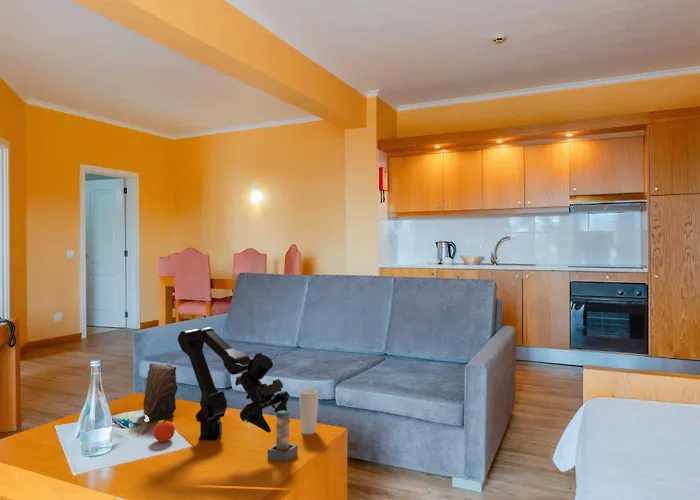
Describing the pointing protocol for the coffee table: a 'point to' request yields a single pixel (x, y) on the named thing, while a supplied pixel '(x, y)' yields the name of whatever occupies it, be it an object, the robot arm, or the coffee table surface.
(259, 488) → the coffee table surface
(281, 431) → the ivory peg
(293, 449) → the charcoal holder block
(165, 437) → the tomato
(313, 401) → the drinking glass
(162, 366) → the brown tree stump
